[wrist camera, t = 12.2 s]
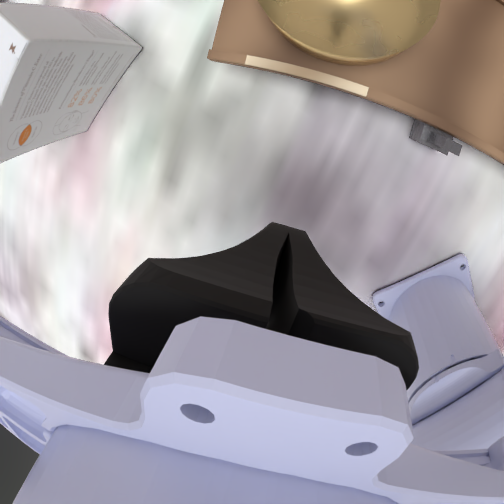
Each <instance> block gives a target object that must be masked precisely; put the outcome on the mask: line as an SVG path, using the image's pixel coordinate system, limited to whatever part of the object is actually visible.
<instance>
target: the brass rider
mask: <svg viewBox="0 0 504 504" xmlns="http://www.w3.org/2000/svg"><path fill="white" fill-rule="evenodd" d="M258 2H259V3H260V5H261V7H262V8H263V10H264V11H265V13H266V14H267V15H268V17H269V18H270V20H271V21H272V23H273V24H274V26H275V27H276V28H277V29H278V31H279V32H280V33H281V34H282V35H283V36H284V37H285V38H286V39H287V40H288V41H289V42H290V43H292V44H293V45H294V46H295V47H297V48H298V49H300V50H302V51H303V52H305V53H307V54H309V55H311V56H313V57H315V58H318V59H321V60H323V61H327V62H331V63H335V64H341V65H349V66H361V65H370V64H376V63H379V62H382V61H386V60H388V59H390V58H392V57H394V56H396V55H398V54H399V53H401V52H403V51H404V50H406V49H408V48H409V47H411V46H412V45H414V44H416V43H417V42H419V41H420V40H421V39H422V38H423V37H424V36H425V35H426V34H427V33H428V32H429V31H430V29H431V28H432V27H433V25H434V23H435V21H436V19H437V16H438V13H439V10H440V2H441V0H258Z"/></svg>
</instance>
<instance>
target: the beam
mask: <svg viewBox="0 0 504 504" xmlns="http://www.w3.org/2000/svg"><path fill="white" fill-rule="evenodd" d="M207 58H208V59H209V60H211V61H215V62H220V63H227V64H233V65H238V66H244V67H249V68H254V69H259V70H264V71H269V72H273V73H278V74H282V75H286V76H290V77H294V78H298V79H302V80H306V81H309V82H313V83H317V84H320V85H323V86H327V87H330V88H333V89H337V90H340V91H343V92H346V93H349V94H352V95H355V96H358V97H361V98H364V99H367V100H369V101H372V102H375V103H377V104H380V105H383V106H385V107H388V108H390V109H393V110H396V111H398V112H400V113H403V114H405V115H408V116H410V117H412V118H415V119H417V120H419V121H421V122H424V123H426V124H428V125H430V126H432V127H435V128H437V129H439V130H441V131H443V132H445V133H447V134H449V135H451V136H453V137H455V138H457V139H459V140H461V141H463V142H465V143H467V144H468V145H470V146H472V147H474V148H476V149H478V150H479V151H481V152H483V153H485V154H486V155H488V156H490V157H492V158H493V159H495V160H497V161H498V162H500V163H502V164H503V165H504V0H441V2H440V10H439V13H438V16H437V19H436V21H435V23H434V25H433V27H432V28H431V29H430V31H429V32H428V33H427V34H426V35H425V36H424V37H423V38H422V39H421V40H420V41H419V42H417V43H416V44H414V45H412V46H411V47H409V48H408V49H406V50H404V51H403V52H401V53H399V54H398V55H396V56H394V57H392V58H390V59H388V60H386V61H382V62H379V63H376V64H370V65H361V66H349V65H341V64H335V63H331V62H327V61H323V60H321V59H318V58H315V57H313V56H311V55H309V54H307V53H305V52H303V51H302V50H300V49H298V48H297V47H295V46H294V45H293V44H292V43H290V42H289V41H288V40H287V39H286V38H285V37H284V36H283V35H282V34H281V33H280V32H279V31H278V29H277V28H276V27H275V26H274V24H273V23H272V21H271V20H270V18H269V17H268V15H267V14H266V13H265V11H264V10H263V8H262V7H261V5H260V3H259V2H258V0H224V3H223V7H222V11H221V15H220V18H219V22H218V26H217V30H216V34H215V38H214V42H213V47H212V50H210V49H209V52H208V56H207Z"/></svg>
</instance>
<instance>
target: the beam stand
mask: <svg viewBox="0 0 504 504" xmlns="http://www.w3.org/2000/svg"><path fill="white" fill-rule="evenodd" d="M409 138H411V139H413V140H415V141H417V142H419V143H421V144H424V145H426V146H428V147H430V148H432V149H435V150H437V151H439V152H441V153H443V154H445V155H448V152H451V153H454V154H456V155H458V156H459V154H460V151H461V148H462V145H460V144H458V143H456V142H454V141H452V140H453V136H451V135H449V134H447V133H445V132H443V131H441V130H439V129H437V128H435V127H432V126H430V125H428V124H426V123H424V122H421V121H419V120H417V119H415V121H414V124H413V127H412V130H411V133H410V136H409Z"/></svg>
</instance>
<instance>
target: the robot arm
mask: <svg viewBox="0 0 504 504" xmlns="http://www.w3.org/2000/svg"><path fill="white" fill-rule="evenodd" d="M462 264H464V266H463V267H461V268H460V266H461V265H462ZM372 298H373V302H374V304H375V307H376V309H377V311H378V313H379V314H378V313H377V312H375V311H374V310H372V309H371V308H370V307H368V306H367V305H366V304H364V303H363V302H362V301H361V300H359V299H358V298H357V297H356V296H355V295H354V294H352V293H351V292H350V291H349V290H348V289H347V288H346V287H345V286H344V285H343V284H342V283H341V282H340V281H339V280H338V279H337V278H336V277H335V275H334V274H333V273H332V272H331V271H330V269H329V268H328V267H327V265H326V264H325V263H324V261H323V260H322V258H321V257H320V255H319V254H318V252H317V251H316V249H315V247H314V246H313V244H312V242H311V241H310V239H309V237H308V235H307V234H306V232H305V231H302V230H299V229H295V228H292V227H288V226H285V225H282V224H278V223H275V222H272V223H270V224H268V225H267V226H266V227H265V228H264V229H263V230H261V231H260V232H259V233H257V234H256V235H254V236H253V237H251V238H250V239H248V240H246V241H244V242H242V243H241V244H239V245H237V246H235V247H232V248H229V249H227V250H224V251H220V252H216V253H212V254H208V255H204V256H197V257H189V258H175V259H168V258H148V259H147V260H145V261H144V262H143V263H142V264H141V265H140V266H139V267H137V268H136V269H135V270H134V271H133V273H132V274H131V275H130V276H129V277H128V278H127V279H126V280H125V281H124V283H123V284H122V285H121V286H120V287H119V288H118V289H117V291H116V292H115V293H114V294H113V296H112V299H111V301H110V303H109V323H110V332H111V340H112V348H113V352H112V353H111V355H110V356H109V358H108V359H107V361H106V362H105V364H104V365H102V364H98V363H93V362H89V361H85V360H80V359H76V358H72V357H69V356H67V355H65V354H63V353H61V352H60V351H58V350H56V349H54V348H52V347H51V346H49V345H47V344H45V343H43V342H42V341H40V340H38V339H37V338H35V337H33V336H32V335H30V334H28V333H27V332H25V331H23V330H22V329H20V328H18V327H17V326H15V325H14V324H12V323H11V322H9V321H8V320H6V319H5V318H3V317H2V316H0V423H1V424H2V425H3V426H4V427H5V428H7V429H8V430H9V431H10V432H11V433H13V434H14V435H15V436H16V437H17V438H19V439H20V440H21V441H23V442H24V443H25V444H27V445H28V446H29V447H30V448H32V449H33V450H34V451H36V452H37V453H39V454H40V456H39V457H38V459H37V461H36V462H35V464H34V466H33V468H32V469H31V471H30V473H29V475H28V477H27V478H26V480H25V482H24V484H23V485H22V487H21V489H20V491H19V493H18V495H17V496H16V498H15V500H14V502H13V504H504V356H503V354H502V352H501V350H500V348H499V346H498V344H497V342H496V340H495V338H494V336H493V334H492V332H491V330H490V328H489V326H488V324H487V322H486V321H485V319H484V317H483V315H482V313H481V311H480V310H479V308H478V306H477V304H476V303H475V298H474V292H473V286H472V281H471V276H470V271H469V266H468V261H467V258H466V256H465V255H464V254H459V255H457V256H454V257H452V258H450V259H448V260H446V261H444V262H442V263H440V264H438V265H436V266H434V267H431V268H429V269H427V270H425V271H423V272H421V273H418V274H416V275H414V276H412V277H409V278H407V279H405V280H403V281H400V282H398V283H396V284H394V285H391V286H389V287H387V288H384V289H382V290H380V291H377V292H375V293H374V294H373V296H372ZM381 301H383V303H381V304H379V302H381Z"/></svg>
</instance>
